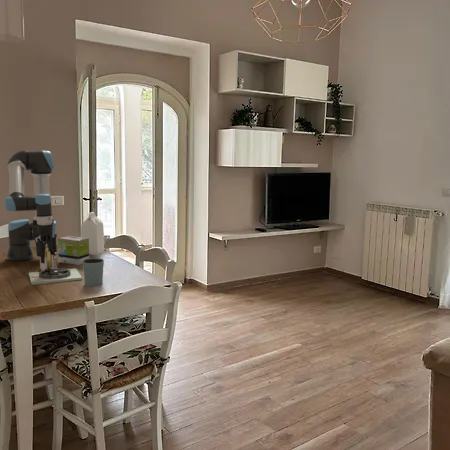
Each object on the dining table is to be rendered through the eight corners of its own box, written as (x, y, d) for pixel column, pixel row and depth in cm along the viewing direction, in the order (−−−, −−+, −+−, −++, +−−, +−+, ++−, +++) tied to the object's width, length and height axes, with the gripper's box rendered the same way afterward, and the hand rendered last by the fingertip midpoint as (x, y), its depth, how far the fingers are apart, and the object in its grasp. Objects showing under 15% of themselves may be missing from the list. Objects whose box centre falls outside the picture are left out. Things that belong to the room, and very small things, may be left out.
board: (28, 274, 247) (28, 272, 247) (76, 270, 258) (75, 268, 258) (31, 284, 230) (31, 282, 229) (82, 279, 240) (82, 277, 240)
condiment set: (56, 270, 257) (56, 250, 255) (39, 271, 254) (38, 250, 252) (58, 265, 268) (57, 245, 266) (41, 266, 266) (40, 246, 264)
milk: (88, 250, 310) (87, 211, 306) (104, 250, 309) (104, 211, 304) (80, 254, 298) (78, 213, 294) (97, 254, 297) (96, 214, 293)
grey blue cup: (96, 280, 240) (95, 257, 238) (108, 283, 234) (108, 260, 232) (79, 284, 232) (78, 260, 230) (91, 288, 226) (90, 263, 224)
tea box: (58, 262, 275) (57, 238, 272) (69, 259, 284) (68, 235, 282) (78, 265, 269) (78, 240, 267) (90, 261, 278) (89, 237, 276)
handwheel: (76, 274, 244) (75, 253, 243) (48, 280, 233) (47, 258, 231) (59, 268, 255) (58, 248, 253) (32, 274, 243) (31, 253, 242)
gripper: (37, 227, 234) (41, 272, 238) (62, 221, 249) (65, 264, 253) (26, 226, 237) (29, 270, 241) (51, 220, 252) (54, 263, 256)
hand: (48, 267), depth 247 cm, fingers open, 4 cm apart
